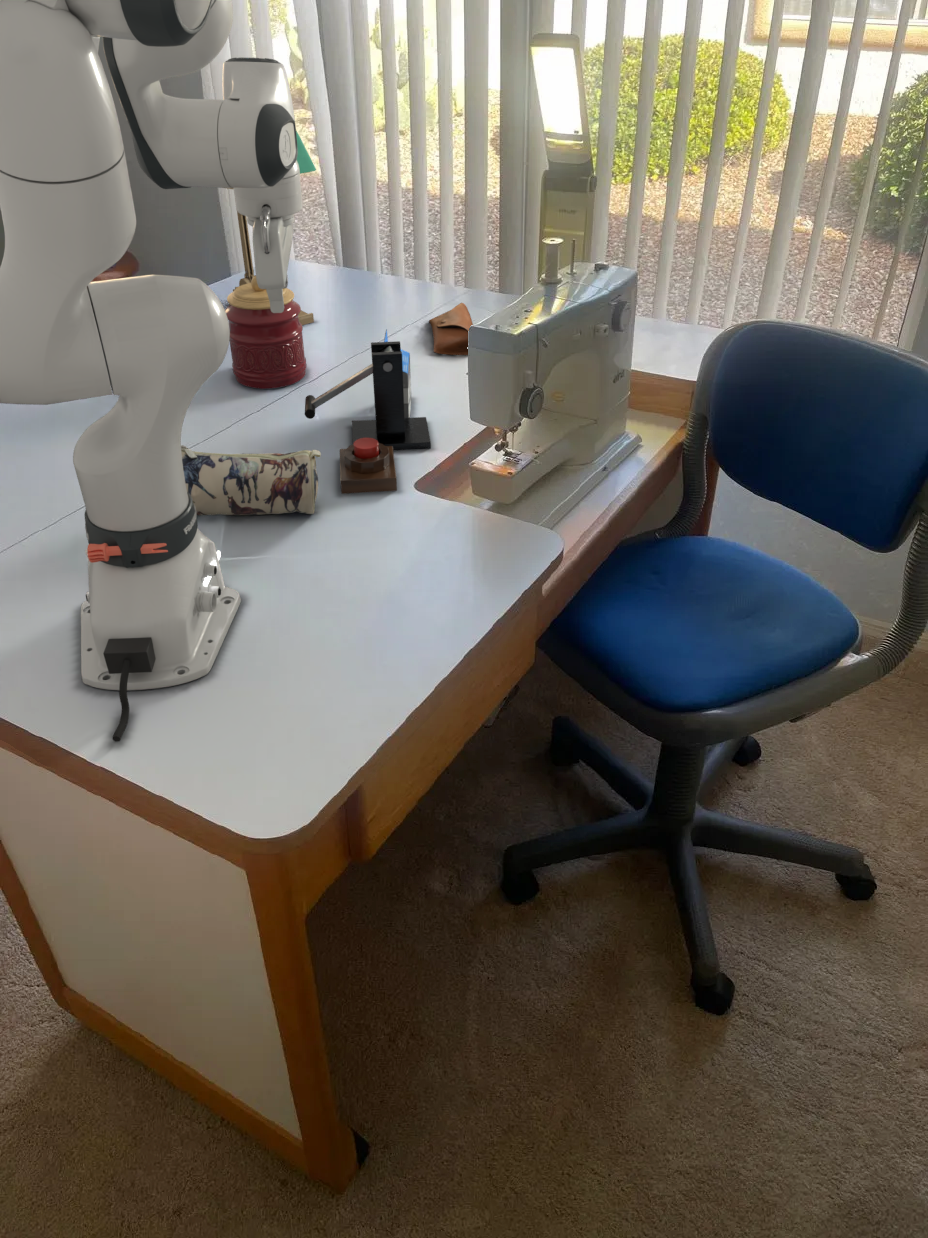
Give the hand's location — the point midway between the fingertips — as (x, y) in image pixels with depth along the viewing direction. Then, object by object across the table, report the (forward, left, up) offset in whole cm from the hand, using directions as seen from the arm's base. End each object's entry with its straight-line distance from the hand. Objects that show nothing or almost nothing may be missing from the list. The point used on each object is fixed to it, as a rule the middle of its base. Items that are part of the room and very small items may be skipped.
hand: (280, 298), depth 137 cm
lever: (+2, -10, -15) cm, 18 cm away
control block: (-10, -11, -23) cm, 28 cm away
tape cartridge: (+12, -17, -24) cm, 31 cm away
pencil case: (-18, +6, -24) cm, 31 cm away
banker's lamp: (+60, +6, -24) cm, 64 cm away
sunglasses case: (+43, -29, -24) cm, 57 cm away
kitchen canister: (+29, +5, -24) cm, 37 cm away
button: (-10, -11, -20) cm, 25 cm away
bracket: (+2, -15, -23) cm, 28 cm away
